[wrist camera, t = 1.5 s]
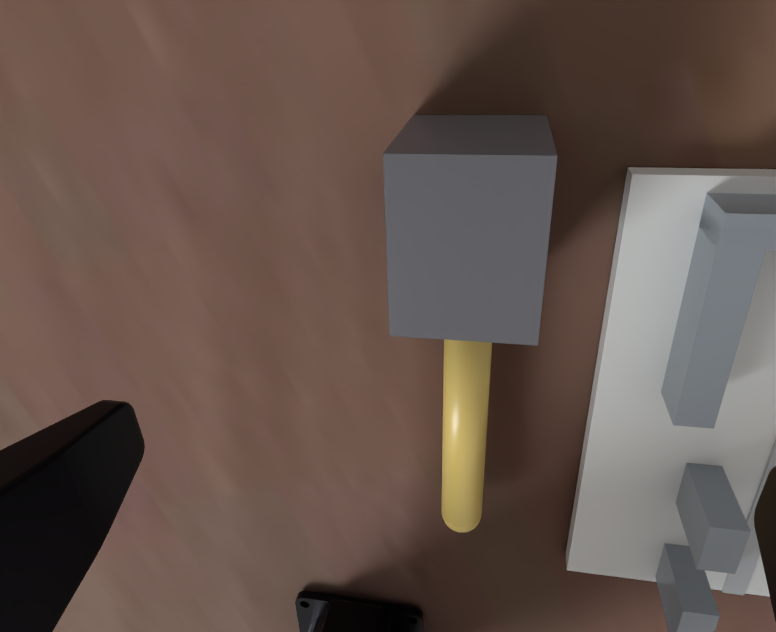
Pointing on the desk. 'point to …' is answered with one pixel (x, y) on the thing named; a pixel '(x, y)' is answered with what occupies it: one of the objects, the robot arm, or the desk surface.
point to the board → (683, 392)
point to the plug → (468, 264)
